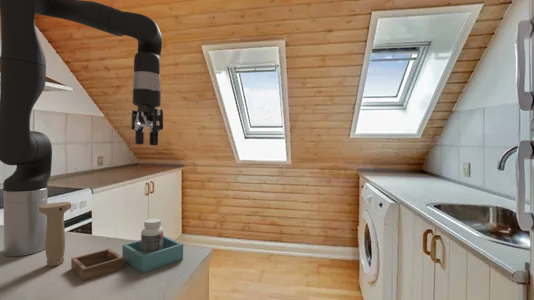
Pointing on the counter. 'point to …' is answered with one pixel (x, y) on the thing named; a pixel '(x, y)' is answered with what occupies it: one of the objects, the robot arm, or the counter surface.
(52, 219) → the handle
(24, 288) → the counter surface
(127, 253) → the tray
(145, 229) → the pill bottle
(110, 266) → the brown open box
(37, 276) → the counter surface
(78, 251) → the counter surface
